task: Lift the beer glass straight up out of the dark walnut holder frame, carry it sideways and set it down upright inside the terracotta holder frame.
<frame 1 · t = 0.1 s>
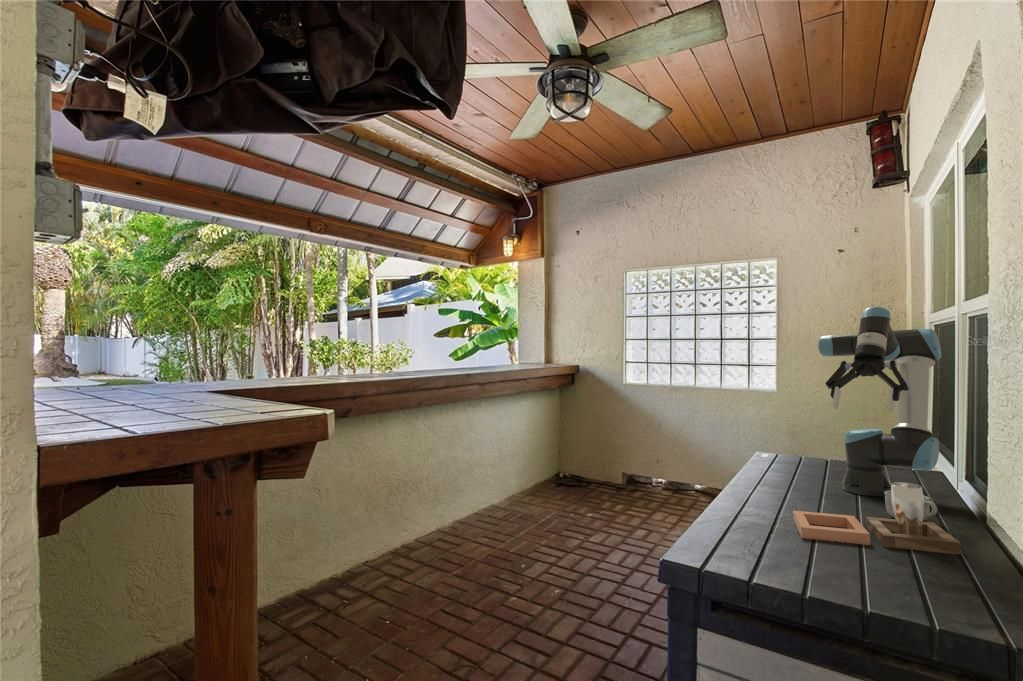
hand: (861, 408, 139), 36 cm above the table, tool tilted 35°, fingers open, 13 cm apart
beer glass: (910, 540, 129), resting in walnut holder
terracotta holder: (828, 531, 137), on the table
teacup: (912, 522, 143), on the table
walnut holder: (910, 539, 129), on the table
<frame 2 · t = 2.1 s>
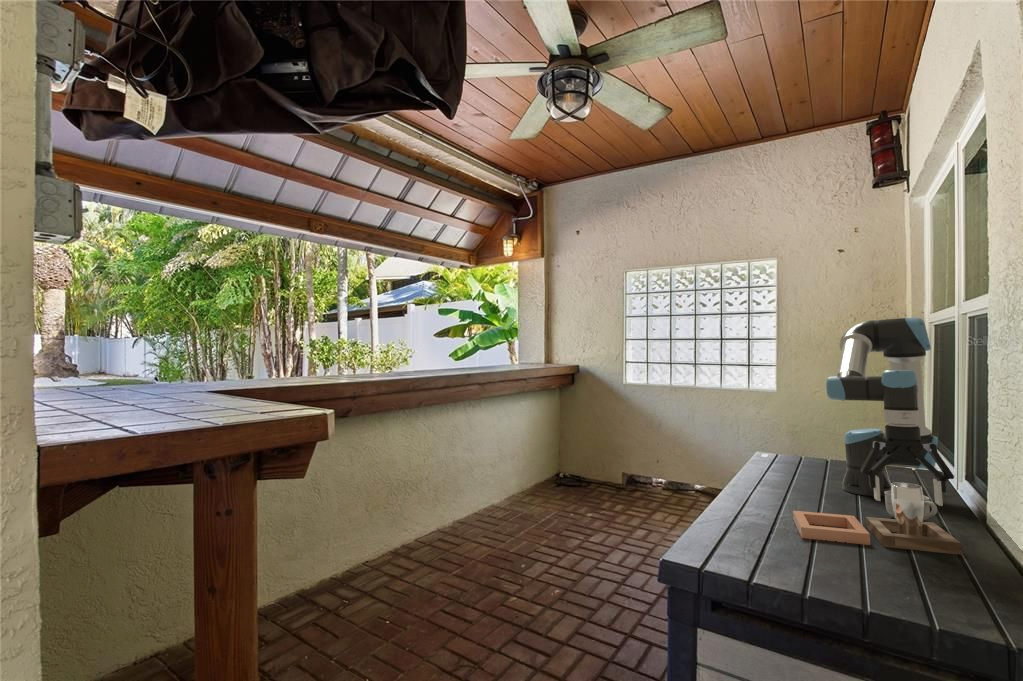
hand: (907, 502, 130), 10 cm above the table, tool pointing down, fingers open, 13 cm apart
nothing on the table moved.
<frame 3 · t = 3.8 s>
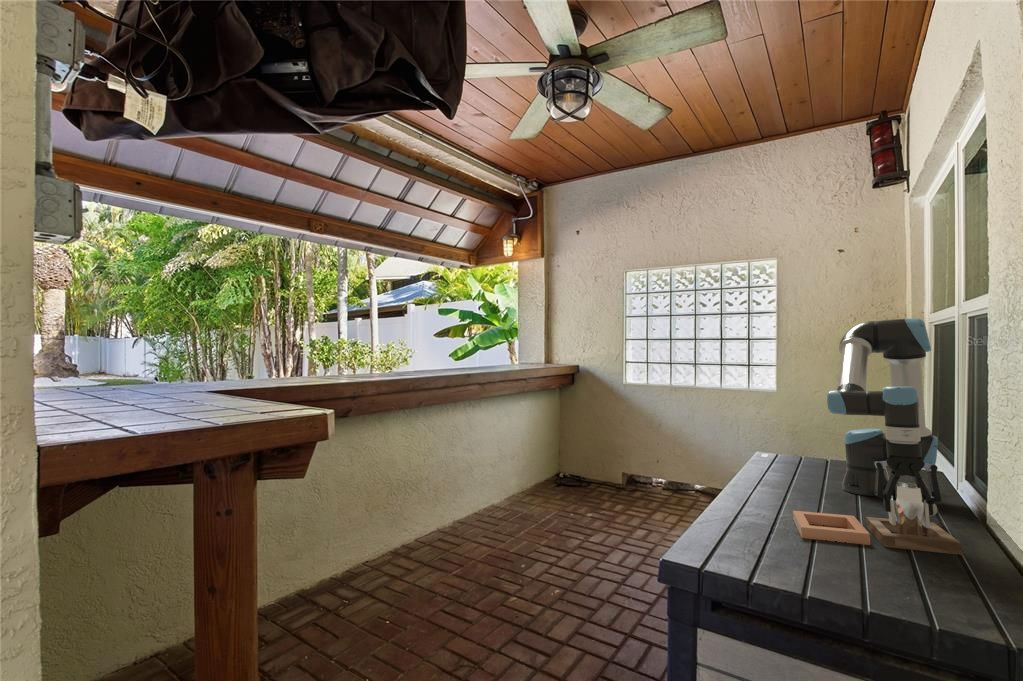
hand: (909, 525, 129), 4 cm above the table, tool pointing down, fingers closed on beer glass, 7 cm apart
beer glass: (910, 540, 129), resting in walnut holder, touching gripper
everything else where it was.
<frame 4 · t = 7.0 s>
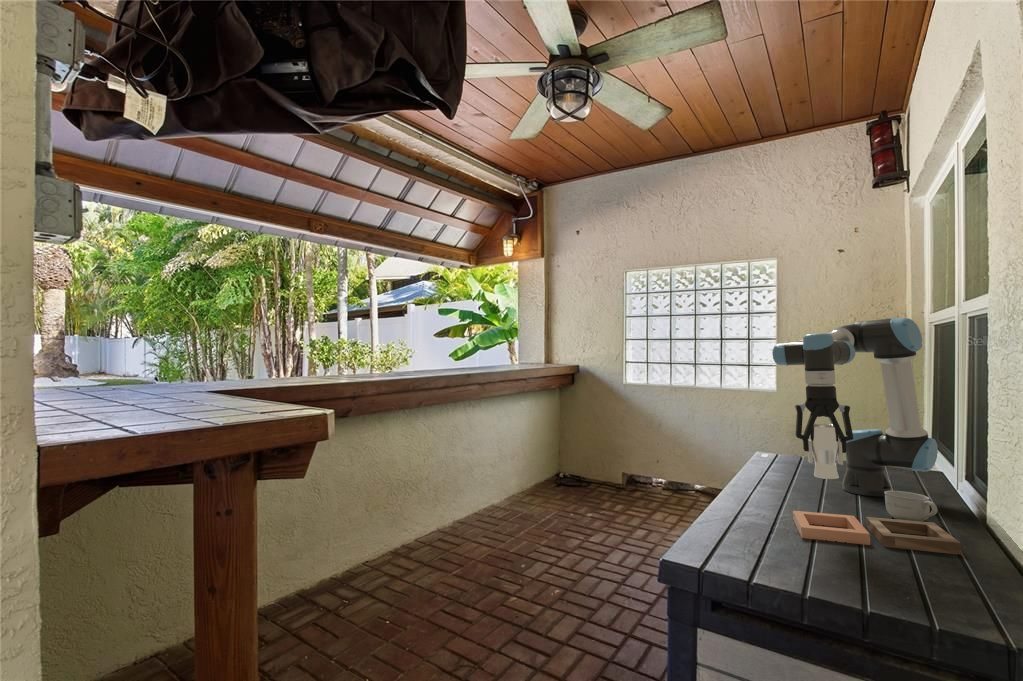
hand: (825, 463, 138), 20 cm above the table, tool pointing down, fingers closed on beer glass, 7 cm apart
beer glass: (826, 477, 138), point 16 cm above the table, touching gripper
everything else where it was.
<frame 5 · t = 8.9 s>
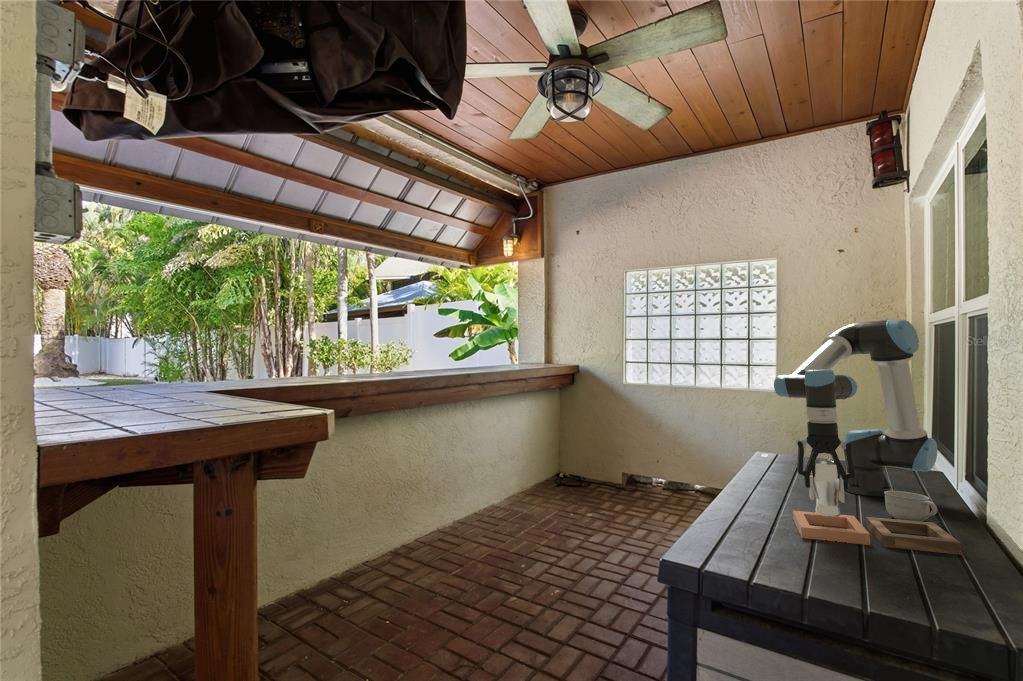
hand: (826, 499, 137), 9 cm above the table, tool pointing down, fingers closed on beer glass, 7 cm apart
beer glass: (827, 514, 137), point 5 cm above the table, touching gripper
everything else where it was.
when the fingers open (5 cm above the table, at t = 10.5 s): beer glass drops 1 cm, resting in terracotta holder.
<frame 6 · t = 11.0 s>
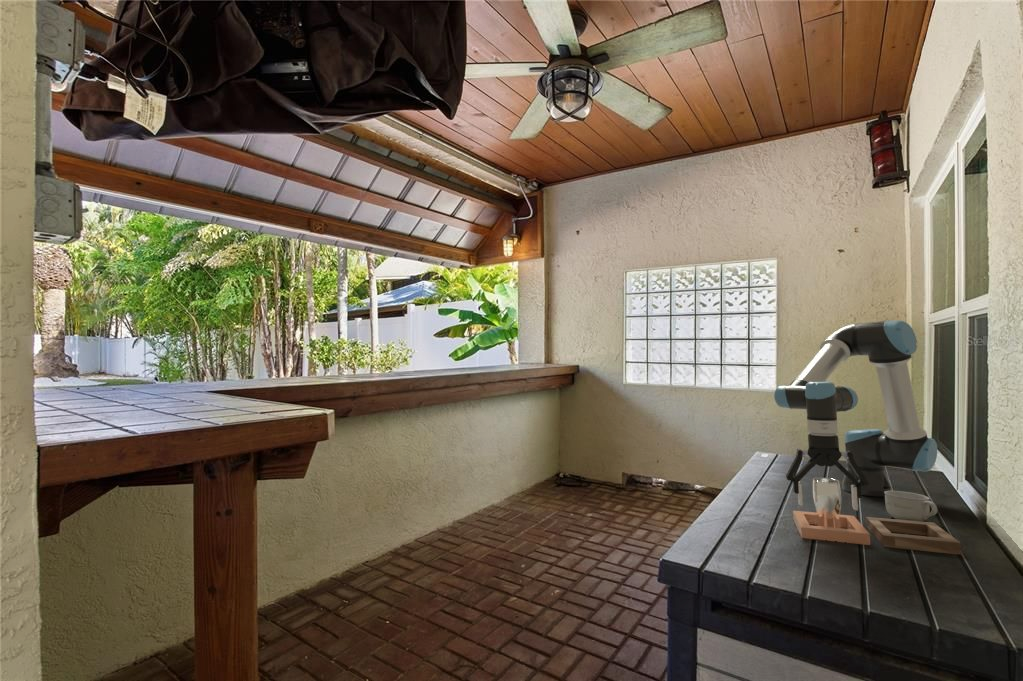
hand: (827, 506, 137), 7 cm above the table, tool pointing down, fingers open, 13 cm apart
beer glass: (829, 532, 137), resting in terracotta holder
everything else where it was.
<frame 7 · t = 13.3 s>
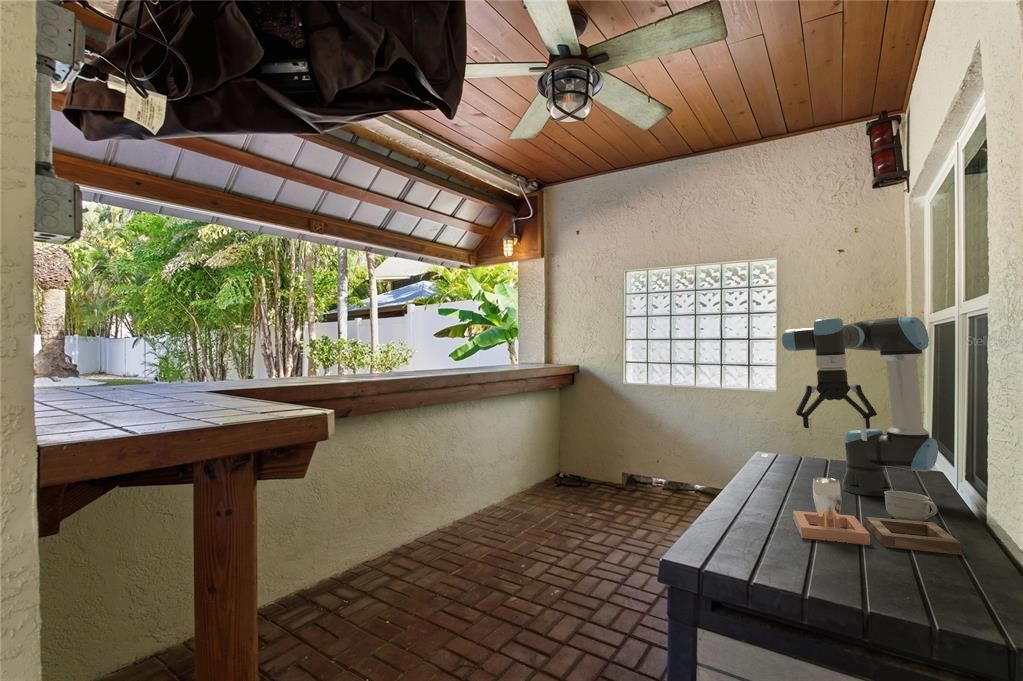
hand: (836, 439, 141), 26 cm above the table, tool pointing down, fingers open, 13 cm apart
nothing on the table moved.
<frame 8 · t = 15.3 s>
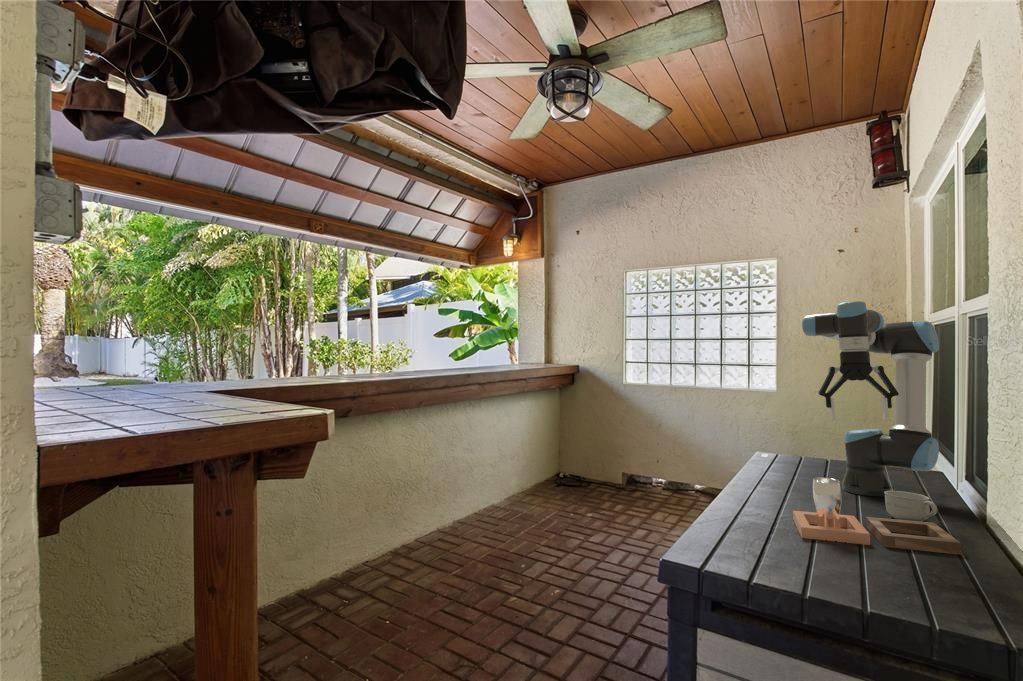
hand: (858, 418, 146), 32 cm above the table, tool pointing down, fingers open, 13 cm apart
nothing on the table moved.
at the end: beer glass 0.1 cm off-centre on the terracotta holder, point 0.0 cm above the terracotta holder's base; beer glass tilted 0°; the gripper is holding nothing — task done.
